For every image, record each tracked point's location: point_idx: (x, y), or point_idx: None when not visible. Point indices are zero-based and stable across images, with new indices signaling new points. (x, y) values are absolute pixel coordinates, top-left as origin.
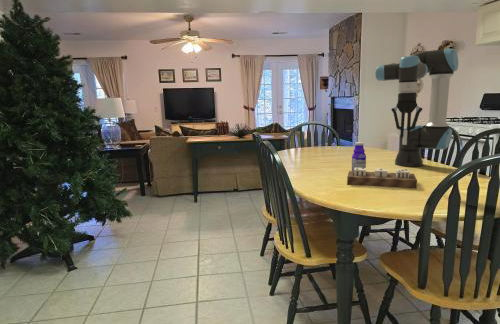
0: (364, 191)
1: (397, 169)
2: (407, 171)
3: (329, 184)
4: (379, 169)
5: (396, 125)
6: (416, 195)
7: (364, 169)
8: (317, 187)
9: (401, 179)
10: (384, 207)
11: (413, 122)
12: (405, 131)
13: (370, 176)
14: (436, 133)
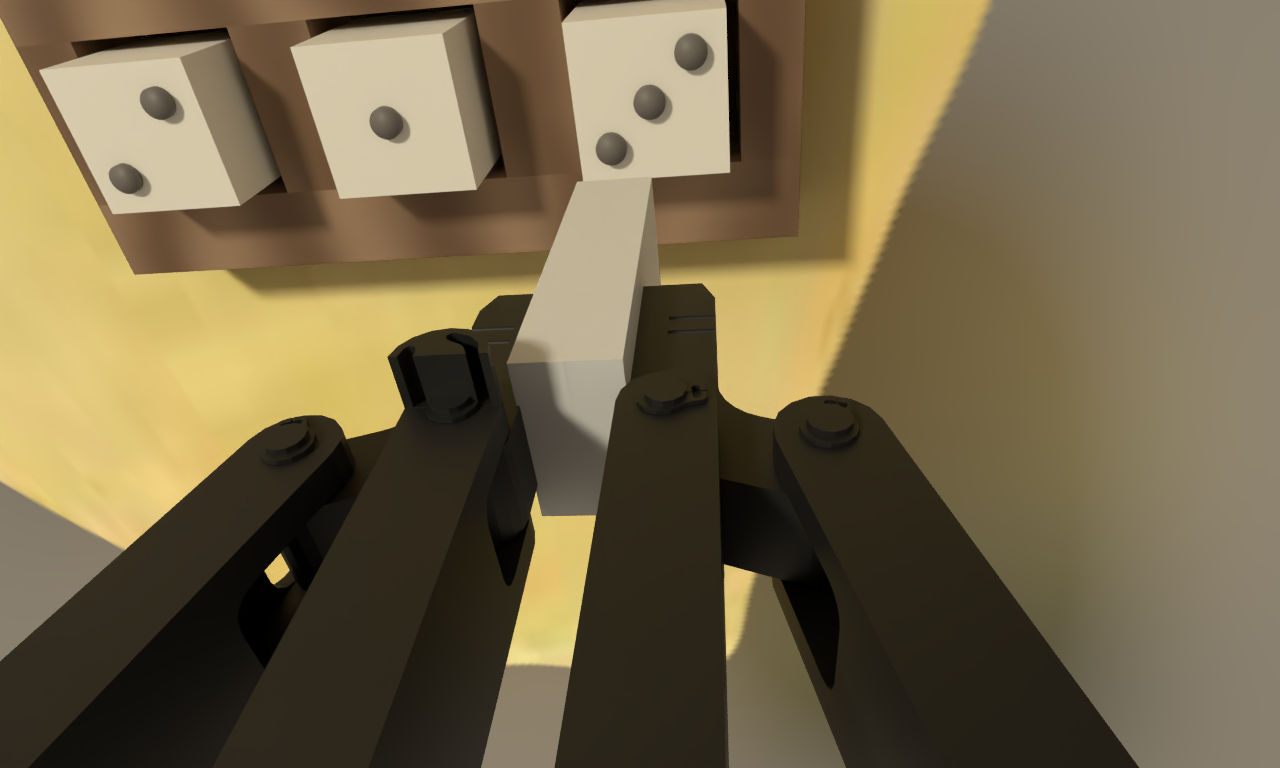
0: (390, 387)
1: (581, 35)
2: (706, 133)
3: (49, 267)
4: (366, 109)
5: (261, 649)
6: (761, 388)
7: (205, 161)
8: (36, 377)
9: None
10: (573, 618)
11: (845, 763)
12: (593, 499)
13: (329, 201)
14: None
